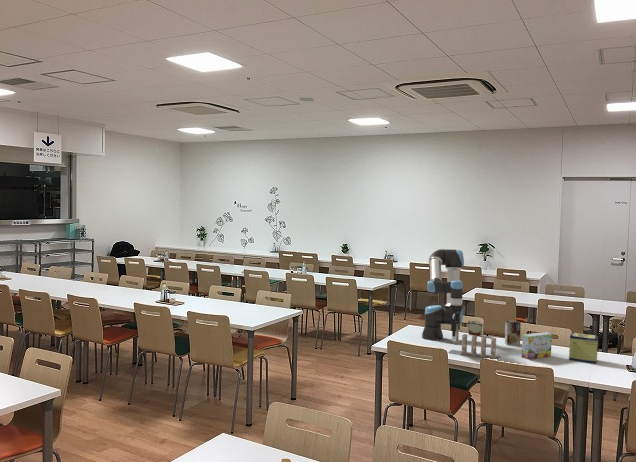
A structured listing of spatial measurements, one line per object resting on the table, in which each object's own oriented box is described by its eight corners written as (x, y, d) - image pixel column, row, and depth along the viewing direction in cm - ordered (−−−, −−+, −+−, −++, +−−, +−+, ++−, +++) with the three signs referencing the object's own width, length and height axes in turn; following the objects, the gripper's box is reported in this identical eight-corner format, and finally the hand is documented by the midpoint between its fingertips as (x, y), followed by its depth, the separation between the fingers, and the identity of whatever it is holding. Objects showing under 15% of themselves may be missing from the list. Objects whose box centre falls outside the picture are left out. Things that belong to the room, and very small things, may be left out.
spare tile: (452, 343, 340) (453, 324, 339) (454, 341, 344) (455, 323, 344) (455, 343, 339) (456, 325, 338) (457, 342, 343) (458, 323, 343)
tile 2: (480, 356, 331) (481, 338, 331) (482, 355, 335) (483, 336, 335) (484, 357, 330) (484, 338, 330) (485, 355, 334) (486, 336, 334)
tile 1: (490, 358, 328) (491, 339, 328) (492, 356, 332) (492, 337, 332) (493, 358, 327) (494, 339, 327) (495, 357, 332) (496, 338, 331)
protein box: (596, 363, 323) (597, 338, 322) (568, 360, 330) (569, 335, 330) (597, 359, 332) (598, 335, 331) (569, 356, 339) (570, 332, 339)
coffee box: (517, 343, 371) (518, 320, 370) (520, 345, 364) (521, 322, 364) (504, 343, 372) (505, 320, 371) (506, 345, 365) (507, 322, 365)
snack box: (528, 360, 328) (529, 336, 327) (521, 358, 333) (521, 334, 332) (551, 356, 338) (552, 333, 337) (544, 354, 342) (545, 331, 342)
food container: (486, 335, 393) (486, 322, 392) (482, 337, 388) (482, 323, 388) (470, 333, 401) (471, 320, 401) (466, 334, 397) (467, 321, 396)
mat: (447, 353, 339) (447, 353, 339) (451, 350, 348) (451, 349, 348) (497, 361, 323) (497, 360, 323) (500, 357, 333) (500, 356, 333)
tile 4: (461, 354, 337) (462, 335, 337) (463, 352, 341) (464, 334, 341) (464, 354, 336) (465, 335, 336) (466, 352, 340) (467, 334, 340)
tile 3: (471, 355, 334) (471, 336, 334) (472, 353, 338) (473, 335, 338) (474, 356, 333) (474, 337, 333) (476, 354, 337) (476, 335, 337)
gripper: (458, 307, 331) (457, 343, 331) (465, 303, 347) (464, 338, 347) (446, 305, 335) (445, 342, 335) (454, 302, 350) (453, 337, 351)
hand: (455, 340), depth 341 cm, fingers closed on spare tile, 5 cm apart
